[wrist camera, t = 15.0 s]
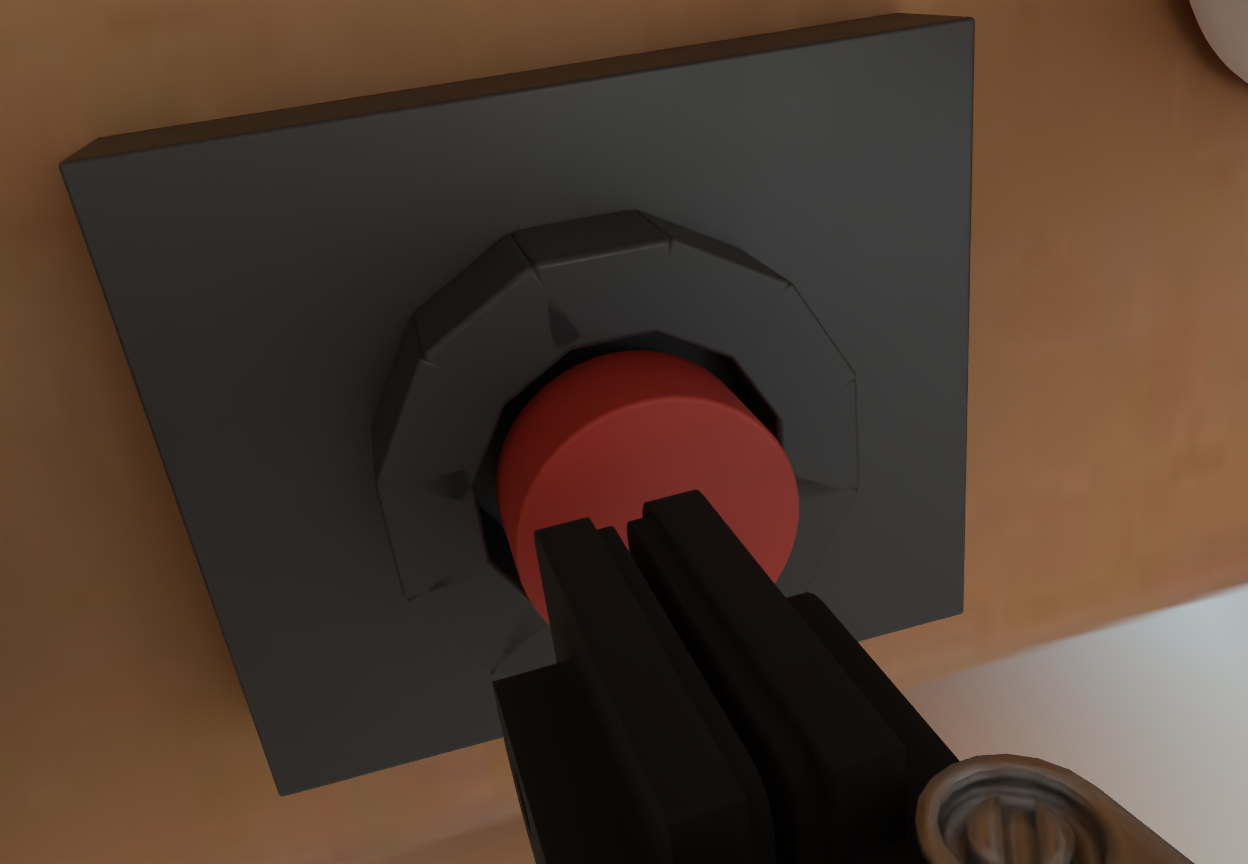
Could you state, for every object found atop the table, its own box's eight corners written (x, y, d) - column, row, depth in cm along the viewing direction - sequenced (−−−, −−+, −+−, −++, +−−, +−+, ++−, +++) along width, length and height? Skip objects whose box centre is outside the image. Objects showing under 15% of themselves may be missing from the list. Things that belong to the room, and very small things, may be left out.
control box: (285, 712, 18) (273, 887, 15) (94, 137, 14) (13, 190, 11) (904, 554, 20) (1024, 674, 17) (899, 12, 16) (1057, 21, 13)
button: (519, 615, 15) (541, 690, 13) (472, 379, 13) (491, 433, 12) (759, 554, 15) (807, 620, 14) (741, 323, 14) (793, 367, 12)
